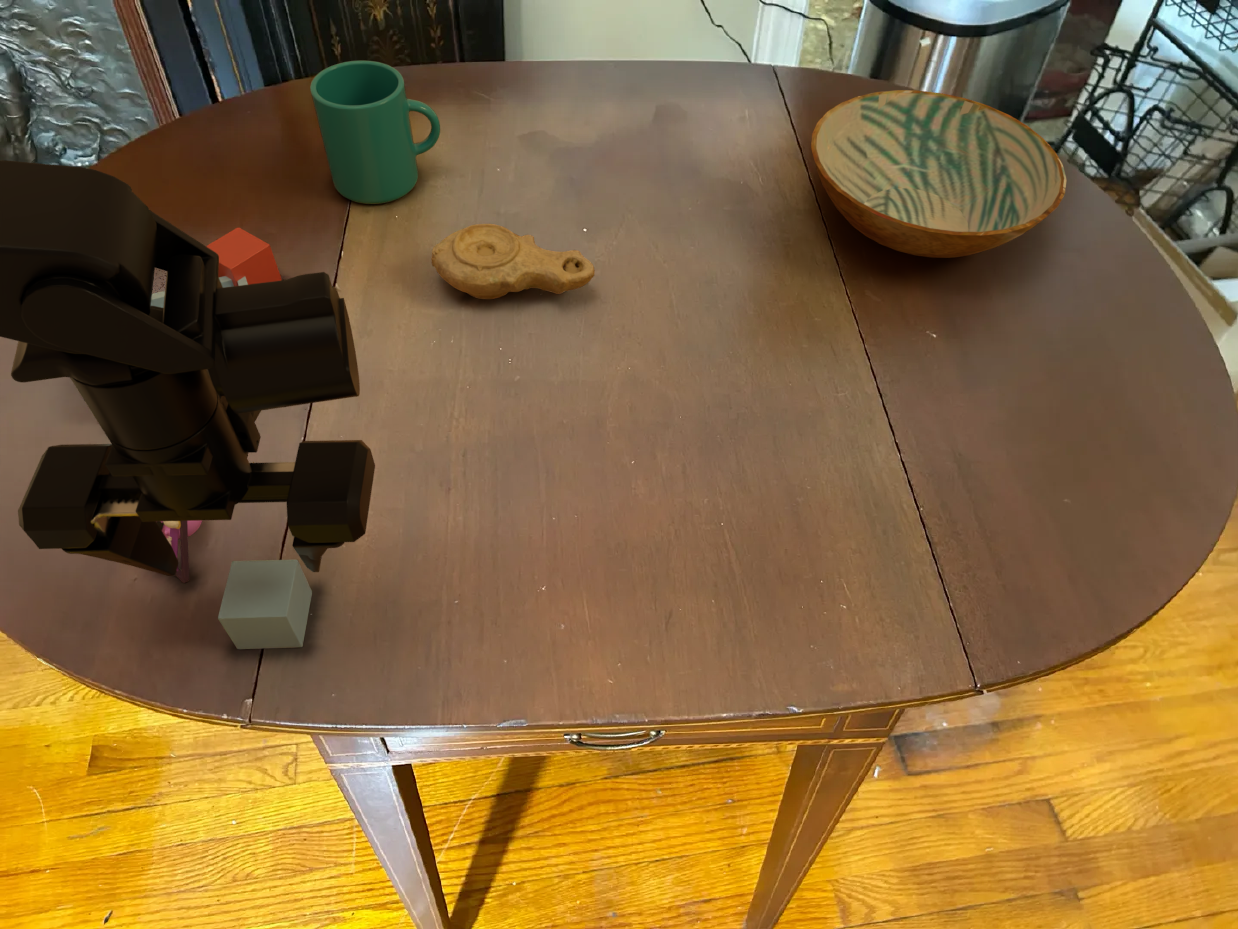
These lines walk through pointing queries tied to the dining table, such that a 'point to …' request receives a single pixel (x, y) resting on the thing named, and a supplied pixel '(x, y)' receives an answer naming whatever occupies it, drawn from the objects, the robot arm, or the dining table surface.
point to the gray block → (266, 604)
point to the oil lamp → (506, 263)
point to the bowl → (935, 172)
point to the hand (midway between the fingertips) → (246, 567)
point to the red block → (245, 258)
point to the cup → (369, 130)
